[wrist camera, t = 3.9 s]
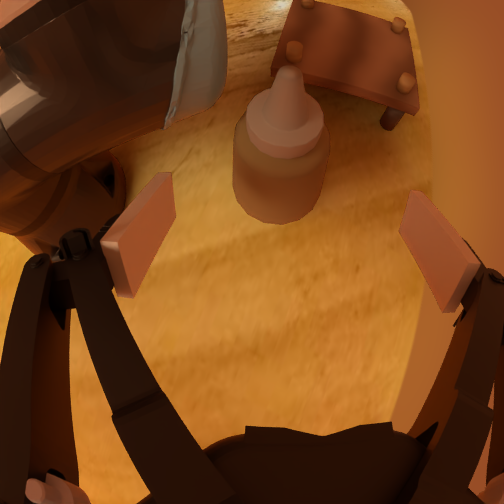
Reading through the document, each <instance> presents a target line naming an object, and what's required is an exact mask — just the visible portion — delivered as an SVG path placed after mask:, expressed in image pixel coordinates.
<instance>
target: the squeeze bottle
mask: <svg viewBox="0 0 504 504" xmlns="http://www.w3.org/2000/svg"><path fill="white" fill-rule="evenodd" d="M329 153H330V134H329V131H328V129H327V127H326V125H325V123H324V113H323V111H322V109H321V107H320V105H319V103H318V102H317V101H316V100H315V99H313V98H312V97H311V96H310V95H309V94H308V93H305V88H304V82H303V76H302V72H301V70H300V69H299V68H297V67H295V66H290V65H287V66H283V67H281V68H280V69H279V70H278V73H277V75H276V78H275V80H274V82H273V85H272V87H271V88H269V89H266V90H264V91H262V92H260V93H259V94H257V95H255V96H254V98H253V99H252V100H251V102H250V103H249V104H248V106H247V111H246V112H245V113H244V115H243V116H242V117H241V119H240V120H239V121H238V123H237V124H236V129H235V135H234V144H233V189H234V192H235V196H236V199H237V202H238V203H239V204H240V205H241V207H242V208H243V209H244V210H245V211H246V213H247V214H248V215H250V216H252V217H254V218H256V219H258V220H260V221H261V222H263V223H271V224H280V225H283V224H286V223H290V222H294V221H297V220H300V219H301V218H302V217H303V216H305V215H306V214H307V213H308V212H310V211H311V210H312V209H313V207H314V205H315V203H316V201H317V199H318V197H319V196H320V192H321V188H322V184H323V179H324V175H325V171H326V166H327V162H328V157H329Z"/></svg>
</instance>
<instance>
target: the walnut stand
mask: <svg viewBox="0 0 504 504" xmlns="http://www.w3.org/2000/svg"><path fill="white" fill-rule="evenodd" d="M405 24H406V22H405V21H404V20H403V19H401V18H399V17H395V18H394V20H393V23H392V22H389V21H386V20H384V19H381V18H378V17H375V16H371V15H368V14H365V13H362V12H358V11H355V10H351V9H347V8H343V7H339V6H335V5H331V4H326V3H322V2H317V1H314V0H293V2H292V5H291V7H290V10H289V13H288V16H287V19H286V22H285V25H284V28H283V31H282V34H281V37H280V40H279V43H278V46H277V49H276V53H275V56H274V59H273V62H272V65H271V77H276V75H277V73H278V70H279V69H280V68H281V67H283V66H287V65H290V66H295V67H297V68H299V69H300V70H301V72H302V76H303V82H304V83H307V84H312V85H316V86H321V87H325V88H329V89H333V90H337V91H340V92H344V93H348V94H351V95H355V96H358V97H361V98H365V99H368V100H371V101H374V102H377V103H380V104H383V105H386V106H388V107H387V109H386V111H385V112H384V114H383V116H382V117H381V119H380V125H381V127H382V128H384V129H385V130H388V131H391V130H393V129H394V127H395V126H396V125H397V123H398V122H399V120H400V119H401V118H402V116H403V115H404V113H405V112H406V113H408V114H411V115H413V116H414V115H415V114H416V113H417V111H418V110H419V109H420V107H419V96H418V87H417V79H416V72H415V65H414V58H413V52H412V47H411V41H410V36H409V31H408V28H405V27H404V26H405Z"/></svg>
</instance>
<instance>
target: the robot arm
mask: <svg viewBox="0 0 504 504" xmlns="http://www.w3.org/2000/svg"><path fill="white" fill-rule="evenodd" d="M0 46H1V49H0V232H3V233H7V234H10V235H13V236H15V237H16V238H17V239H18V240H19V241H20V242H22V243H23V244H24V245H25V246H26V247H27V248H28V249H29V250H30V251H31V252H33V253H34V254H35V255H34V256H33V257H31V258H30V259H29V260H28V261H27V262H26V264H25V265H24V268H23V271H22V274H21V277H20V281H19V284H18V287H17V291H16V294H15V298H14V302H13V305H12V309H11V313H10V317H9V322H8V326H7V331H6V336H5V341H4V346H3V352H2V358H1V364H0V504H91V503H90V500H89V498H88V496H87V495H86V493H85V492H84V491H83V490H82V489H81V488H79V471H78V462H77V455H76V448H75V441H74V432H73V423H72V412H71V398H70V374H69V343H70V319H71V309H73V308H76V310H77V313H78V317H79V321H80V324H81V327H82V331H83V334H84V337H85V341H86V344H87V347H88V350H89V353H90V356H91V359H92V361H93V364H94V367H95V370H96V373H97V375H98V378H99V380H100V383H101V386H102V388H103V391H104V393H105V395H106V398H107V400H108V403H109V405H110V407H111V410H112V413H113V415H112V416H111V417H112V421H113V423H114V426H115V428H116V430H117V432H118V435H119V437H120V439H121V441H122V443H123V445H124V447H125V449H126V451H127V452H128V454H129V456H130V458H131V460H132V462H133V464H134V465H135V467H136V469H137V471H138V473H139V474H140V476H141V478H142V479H143V481H144V483H145V485H146V486H147V488H148V489H149V491H150V494H149V495H148V496H146V497H145V498H144V499H142V500H141V501H140V502H138V503H137V504H504V277H503V276H502V275H501V274H500V273H499V272H497V271H496V270H494V269H490V268H486V267H485V266H484V264H483V263H482V261H481V260H480V259H479V257H478V256H477V255H476V254H475V252H474V251H473V249H471V247H470V246H469V244H468V243H467V242H466V241H465V240H464V239H463V238H461V236H460V235H459V234H458V233H457V231H456V230H455V229H454V228H453V227H452V225H451V224H450V223H449V222H448V221H447V219H446V218H445V217H444V216H443V215H442V214H441V212H440V211H439V210H438V209H437V208H436V207H435V206H434V204H433V203H432V202H431V201H430V200H429V199H428V198H427V197H426V196H425V194H424V193H423V192H422V191H416V190H410V194H409V198H408V202H407V205H406V209H405V212H404V216H403V219H402V222H401V226H400V229H399V233H400V234H401V236H402V238H403V239H404V241H405V243H406V244H407V246H408V248H409V250H410V251H411V253H412V255H413V257H414V259H415V260H416V262H417V264H418V266H419V268H420V270H421V271H422V273H423V275H424V277H425V279H426V281H427V283H428V285H429V287H430V289H431V291H432V293H433V295H434V297H435V299H436V301H437V303H438V305H439V307H440V309H441V311H442V313H449V312H455V311H456V309H457V307H458V306H459V304H460V302H461V304H462V305H463V307H464V309H463V310H462V312H461V314H460V315H459V317H458V319H457V320H456V322H455V323H454V325H453V326H454V327H455V326H456V328H455V331H454V334H453V337H452V340H451V343H450V345H449V348H448V351H447V353H446V356H445V358H444V361H443V363H442V366H441V368H440V371H439V373H438V375H437V378H436V380H435V382H434V385H433V387H432V389H431V391H430V393H429V395H428V397H427V399H426V401H425V403H424V405H423V407H422V410H421V412H420V413H419V415H418V417H417V419H416V421H415V423H414V425H413V426H412V428H411V429H410V431H409V432H408V433H407V434H404V433H402V432H398V431H394V430H393V427H392V422H385V423H376V424H367V425H358V426H356V427H353V428H349V429H346V430H343V431H340V432H337V433H334V434H330V435H327V436H319V435H314V434H309V433H305V432H300V431H296V430H292V429H288V428H280V427H256V426H246V427H245V434H240V435H235V436H231V437H228V438H225V439H222V440H220V441H217V442H215V443H214V444H212V445H210V446H208V447H207V448H205V449H204V450H202V449H201V447H200V446H199V445H198V443H197V442H196V440H195V439H194V437H193V436H192V435H191V433H190V432H189V430H188V429H187V427H186V426H185V424H184V423H183V421H182V420H181V418H180V417H179V415H178V413H177V412H176V410H175V409H174V407H173V406H172V404H171V402H170V401H169V399H168V398H167V396H166V395H165V393H164V392H163V391H162V390H161V388H160V386H159V385H158V383H157V381H156V379H155V378H154V376H153V374H152V372H151V370H150V369H149V367H148V365H147V363H146V361H145V359H144V358H143V356H142V354H141V352H140V350H139V348H138V346H137V344H136V342H135V340H134V338H133V336H132V334H131V332H130V330H129V328H128V326H127V324H126V322H125V320H124V317H123V315H122V313H121V311H120V309H119V307H118V304H117V302H116V300H115V298H114V295H113V293H112V291H111V290H112V289H113V287H115V290H116V293H117V296H118V297H126V298H134V297H135V295H136V293H137V291H138V289H139V287H140V285H141V283H142V281H143V279H144V277H145V275H146V273H147V271H148V269H149V267H150V265H151V263H152V261H153V259H154V257H155V255H156V253H157V251H158V249H159V247H160V246H161V244H162V242H163V240H164V238H165V236H166V234H167V233H168V231H169V229H170V227H171V225H172V224H173V222H174V220H175V218H176V213H175V204H174V195H173V185H172V174H171V172H166V173H157V174H156V175H155V177H154V178H153V179H152V180H151V181H150V182H149V183H148V184H147V185H146V186H145V188H144V189H143V190H142V191H141V192H140V193H139V194H138V195H137V197H136V198H135V199H134V200H133V201H132V202H131V203H130V205H129V206H128V207H127V208H126V209H125V211H124V212H123V209H124V205H125V199H126V181H125V176H124V172H123V169H122V167H121V165H120V163H119V162H118V160H117V159H116V158H115V157H114V156H113V155H112V154H111V153H110V152H109V151H108V150H109V149H111V148H113V147H116V146H118V145H120V144H122V143H125V142H127V141H130V140H132V139H134V138H137V137H139V136H142V135H144V134H147V133H149V132H152V131H154V130H157V129H161V130H165V129H167V128H168V127H170V126H171V125H172V124H173V123H175V122H177V121H180V120H182V119H185V118H188V117H190V116H193V115H196V114H198V113H201V112H204V111H206V110H207V109H209V108H211V107H212V106H213V105H214V104H215V102H216V101H217V100H218V99H219V98H220V96H221V94H222V92H223V90H224V86H225V82H226V75H227V32H226V20H225V12H224V6H223V0H1V2H0ZM493 383H494V409H493V410H492V409H490V408H489V407H488V402H489V399H490V394H491V391H492V387H493ZM492 421H493V423H492ZM491 424H492V433H491V442H490V449H489V456H488V464H487V476H486V488H485V490H484V491H482V492H481V493H479V495H478V496H476V495H475V494H474V493H473V492H472V491H471V490H470V489H469V488H468V486H469V484H470V481H471V479H472V477H473V474H474V472H475V469H476V467H477V465H478V462H479V459H480V457H481V454H482V451H483V449H484V446H485V443H486V440H487V437H488V434H489V431H490V427H491Z"/></svg>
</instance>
